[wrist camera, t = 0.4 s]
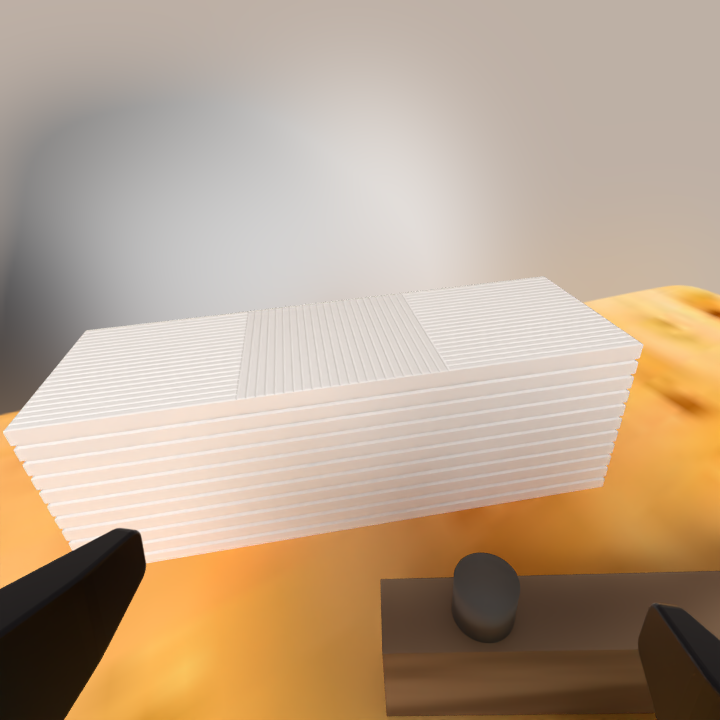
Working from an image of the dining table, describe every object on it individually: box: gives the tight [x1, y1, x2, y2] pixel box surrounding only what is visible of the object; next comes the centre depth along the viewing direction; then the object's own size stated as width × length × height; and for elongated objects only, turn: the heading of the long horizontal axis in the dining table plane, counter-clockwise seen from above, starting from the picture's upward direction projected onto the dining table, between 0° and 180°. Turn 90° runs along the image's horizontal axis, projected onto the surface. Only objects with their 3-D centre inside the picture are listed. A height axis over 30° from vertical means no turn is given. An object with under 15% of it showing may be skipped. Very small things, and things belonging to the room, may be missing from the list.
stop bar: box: [381, 553, 720, 716], centre depth 19 cm, size 3×20×7 cm, turn 89°
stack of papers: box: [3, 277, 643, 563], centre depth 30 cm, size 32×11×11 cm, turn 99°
